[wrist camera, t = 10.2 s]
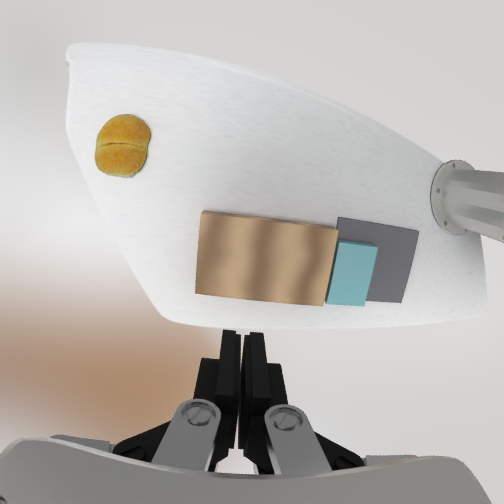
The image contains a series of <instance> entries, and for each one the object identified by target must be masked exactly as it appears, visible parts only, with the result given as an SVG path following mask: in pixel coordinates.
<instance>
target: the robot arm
mask: <svg viewBox="0 0 504 504" xmlns="http://www.w3.org/2000/svg"><path fill="white" fill-rule="evenodd" d="M431 204H432V210H433V214H434V216H435V219H436V221H437V222H438V224H439V226H440V227H441V228H442V229H443V230H445V231H446V232H448V233H450V234H453V235H462V234H465V233H467V232H469V231H473V232H476V233H479V234H482V235H484V236H487V237H490V238H493V239H495V240H498V241H501V242H503V243H504V173H502V172H491V171H479V170H474V168H473V167H472V166H471V165H470V164H468V163H467V162H465V161H462V160H451V161H448V162H446V163H445V164H444V165H442V166H441V168H440V169H439V170H438V172H437V174H436V176H435V178H434V181H433V184H432V190H431ZM240 355H241V335H240V334H236V331H233V330H223V334H222V342H221V350H220V358H219V359H210V358H202V359H201V363H200V368H199V372H198V378H197V382H196V387H195V392H194V397H193V399H190V400H188V401H185V402H183V403H182V404H180V406H179V407H178V408H177V410H176V412H175V414H174V416H173V418H172V420H171V421H169V422H167V423H164V424H162V425H160V426H157V427H155V428H153V429H150V430H148V431H146V432H143V433H141V434H138V435H136V436H133V437H131V438H128V439H126V440H123V441H122V442H120V443H118V444H117V445H116V444H110V442H109V441H102V440H93V439H85V438H78V437H71V436H66V435H54V436H52V437H50V438H44V437H24V438H20V439H17V440H15V441H13V442H12V443H11V444H9V445H8V446H7V447H6V448H5V449H4V450H3V452H2V453H1V454H0V504H492V503H491V501H490V500H489V498H488V496H487V495H486V493H485V491H484V489H483V488H482V486H481V484H480V483H479V481H478V480H477V478H476V477H475V476H474V474H473V473H472V472H471V470H470V469H469V468H468V467H467V466H466V465H465V464H464V463H463V462H461V461H460V460H458V459H455V458H451V457H445V456H421V457H417V456H415V455H392V456H391V455H390V456H369V455H368V456H366V457H365V458H360V456H358V455H357V454H355V453H353V452H351V451H349V450H347V449H346V448H344V447H342V446H340V445H338V444H336V443H334V442H332V441H330V440H328V439H327V438H325V437H323V436H321V435H320V434H318V433H316V432H314V431H313V429H312V427H311V424H310V422H309V420H308V418H307V416H306V415H305V413H304V412H303V411H302V410H300V409H299V408H297V407H295V406H292V405H288V401H287V395H286V390H285V385H284V379H283V374H282V368H281V365H280V364H275V363H267V358H266V351H265V342H264V335H263V333H257V332H250V335H245V337H244V346H243V355H242V363H241V372H240V362H241V361H240V360H241V359H240V358H241V356H240ZM237 419H238V449H243V450H244V452H243V454H244V457H246V458H248V459H249V460H250V461H252V462H253V463H254V472H255V475H253V474H251V475H250V474H229V473H217V472H216V471H217V467H218V462H219V461H221V460H222V459H224V458H225V457H227V456H228V452H229V451H228V450H229V448H231V449H234V442H235V434H236V426H237Z"/></svg>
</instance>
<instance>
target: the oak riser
mask: <svg viewBox="0 0 504 504" xmlns="http://www.w3.org/2000/svg"><path fill="white" fill-rule="evenodd" d="M338 231H339V230H337V229H335V228H334V227H329V226H322V225H315V224H308V223H301V222H293V221H285V220H278V219H270V218H261V217H253V216H245V215H236V214H227V213H218V212H208V211H203V212H202V213H201V218H200V230H199V242H198V255H197V270H196V286H195V294H203V295H211V296H220V297H228V298H237V299H247V300H256V301H266V302H277V303H288V304H300V305H312V306H323V304H324V300H325V295H326V291H327V286H328V282H329V277H330V272H331V267H332V263H333V258H334V252H335V247H336V242H337V236H338Z"/></svg>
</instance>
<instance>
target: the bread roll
mask: <svg viewBox="0 0 504 504" xmlns="http://www.w3.org/2000/svg"><path fill="white" fill-rule="evenodd" d="M149 139H150V131H149V129H148V127H147V126H146V124H145V123H144V122H143V121H142V120H141V119H139V118H138V117H136V116H134V115H129V114H122V115H118V116H116V117H114V118H112V119H110V120H109V121H108V122H107V123H106V124H105V125H104V126H103V127H102V129H101V130H100V132H99V134H98V136H97V140H96V150H95V162H96V165H97V167H98V169H99V170H100V171H102V172H104V173H105V174H107V175H111V176H118V177H132V176H133V175H134V174H135V173H136V172H138V171H139V170H140V168H141V167H142V166H143V164H144V162H145V159H146V153H147V146H148V142H149Z"/></svg>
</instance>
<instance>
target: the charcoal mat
mask: <svg viewBox="0 0 504 504" xmlns="http://www.w3.org/2000/svg"><path fill="white" fill-rule="evenodd" d="M336 229H337V230H339V231H338V236H337V240H345V241H353V242H361V243H368V244H373V245H375V246H376V247H378V250H377V254H376V259H375V264H374V268H373V272H372V277H371V281H370V285H369V289H368V293H367V297H366V301H378V302H395V303H401V302H402V298H403V295H404V291H405V288H406V284H407V281H408V277H409V273H410V269H411V266H412V261H413V257H414V253H415V249H416V244H417V240H418V235H419V231H415V230H410V229H405V228H399V227H394V226H388V225H383V224H377V223H371V222H365V221H359V220H353V219H347V218H341V217H338V222H337V228H336Z"/></svg>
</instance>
